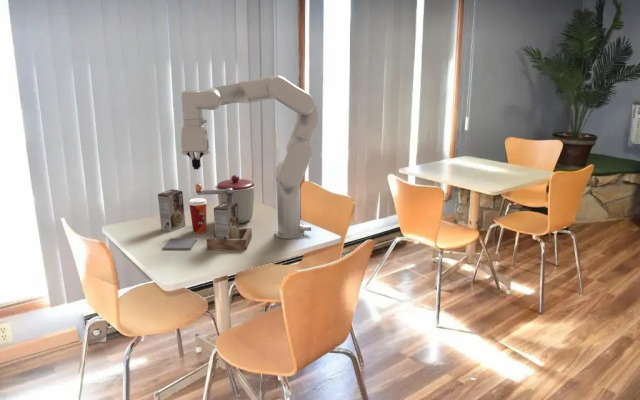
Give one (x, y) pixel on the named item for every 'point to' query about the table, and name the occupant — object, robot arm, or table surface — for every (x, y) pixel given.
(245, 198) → the canister
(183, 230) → the table surface
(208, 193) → the lever
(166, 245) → the mat
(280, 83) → the robot arm
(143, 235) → the table surface
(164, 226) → the coffee box
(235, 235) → the coffee box
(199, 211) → the paper cup
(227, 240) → the wooden planter box
